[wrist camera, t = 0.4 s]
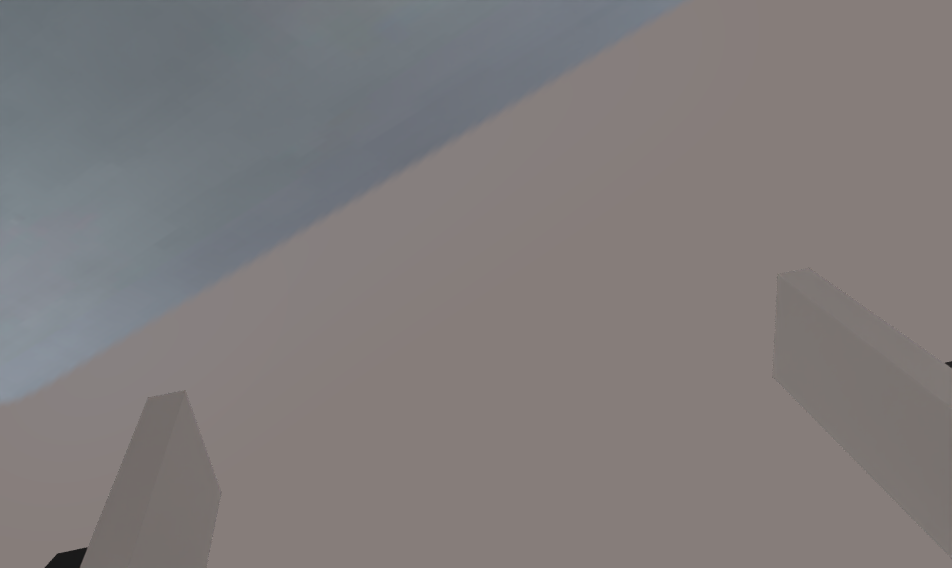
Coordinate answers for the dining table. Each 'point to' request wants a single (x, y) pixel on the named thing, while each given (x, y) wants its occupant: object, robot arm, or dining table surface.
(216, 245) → the dining table surface
